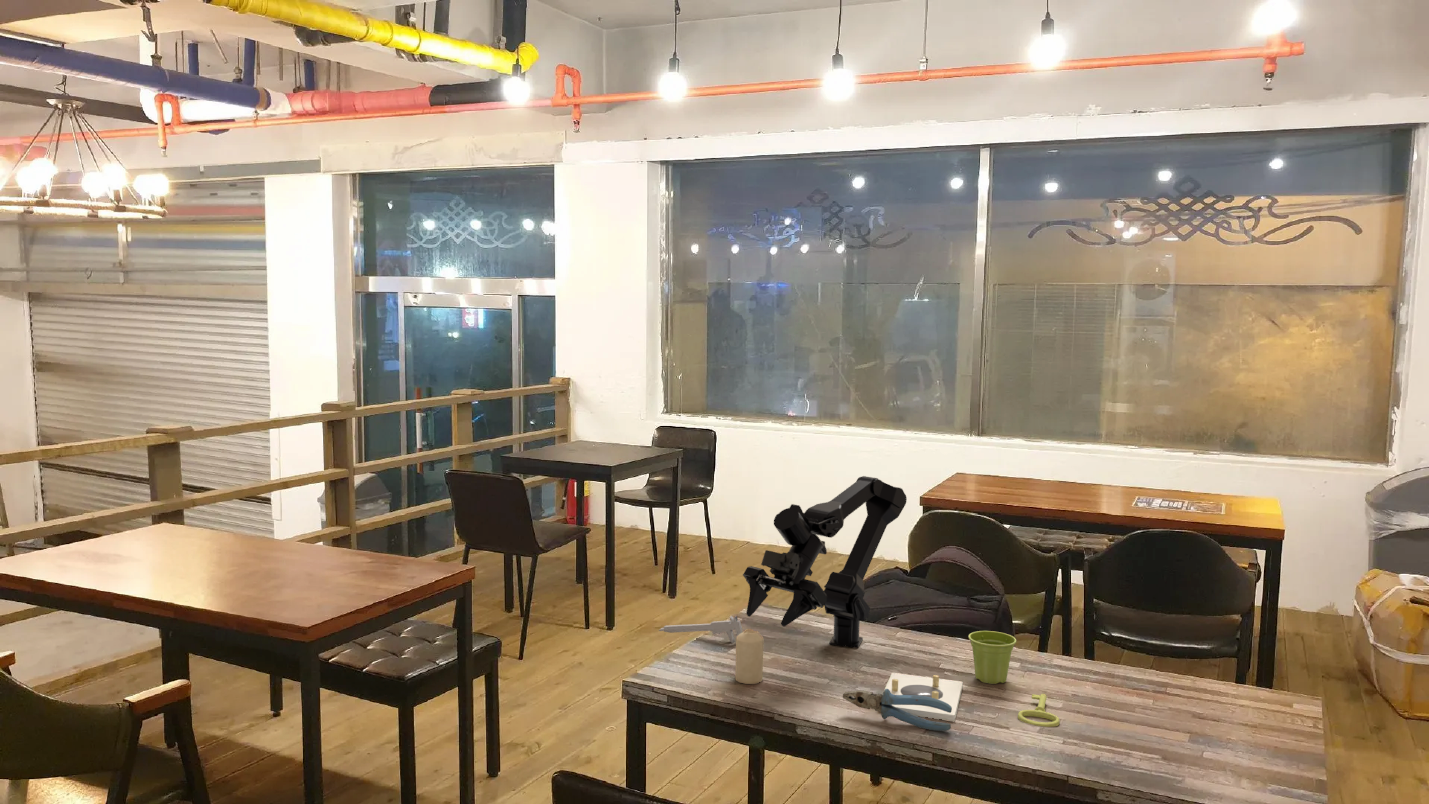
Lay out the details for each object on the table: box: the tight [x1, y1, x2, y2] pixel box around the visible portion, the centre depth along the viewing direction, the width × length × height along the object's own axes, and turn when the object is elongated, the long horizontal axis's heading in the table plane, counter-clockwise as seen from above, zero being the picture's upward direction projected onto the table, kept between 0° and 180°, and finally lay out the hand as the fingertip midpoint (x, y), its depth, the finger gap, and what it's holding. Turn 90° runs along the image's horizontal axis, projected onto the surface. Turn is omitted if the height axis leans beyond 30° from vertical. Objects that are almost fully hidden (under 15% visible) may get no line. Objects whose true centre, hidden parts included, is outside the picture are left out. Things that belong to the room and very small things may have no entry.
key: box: [1017, 693, 1060, 728], centre depth 190 cm, size 7×12×2 cm, turn 176°
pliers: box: [842, 688, 952, 732], centre depth 184 cm, size 20×2×6 cm, turn 63°
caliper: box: [658, 615, 743, 644], centre depth 230 cm, size 20×1×6 cm, turn 66°
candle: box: [734, 628, 765, 685], centre depth 204 cm, size 6×6×10 cm
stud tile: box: [884, 672, 964, 723], centre depth 195 cm, size 18×14×3 cm
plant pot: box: [968, 630, 1017, 685], centre depth 207 cm, size 9×9×9 cm
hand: (764, 620), depth 207 cm, fingers open, 9 cm apart
